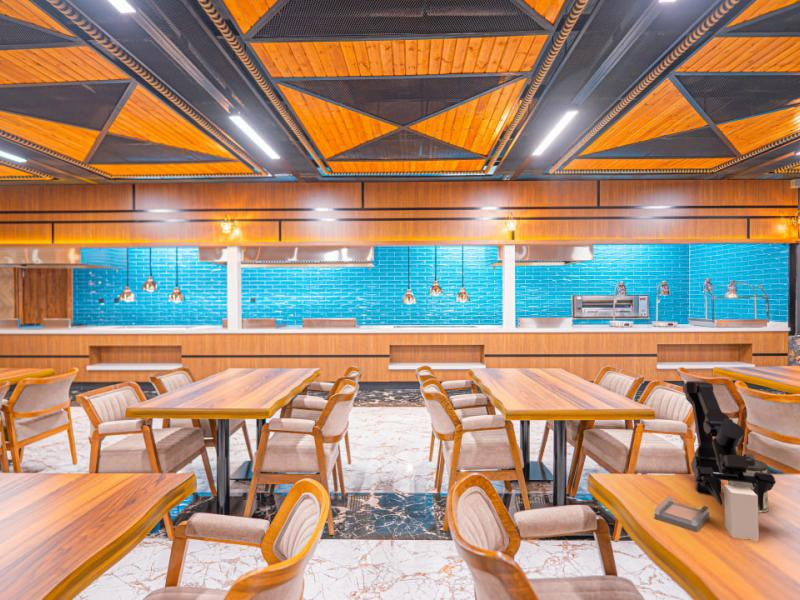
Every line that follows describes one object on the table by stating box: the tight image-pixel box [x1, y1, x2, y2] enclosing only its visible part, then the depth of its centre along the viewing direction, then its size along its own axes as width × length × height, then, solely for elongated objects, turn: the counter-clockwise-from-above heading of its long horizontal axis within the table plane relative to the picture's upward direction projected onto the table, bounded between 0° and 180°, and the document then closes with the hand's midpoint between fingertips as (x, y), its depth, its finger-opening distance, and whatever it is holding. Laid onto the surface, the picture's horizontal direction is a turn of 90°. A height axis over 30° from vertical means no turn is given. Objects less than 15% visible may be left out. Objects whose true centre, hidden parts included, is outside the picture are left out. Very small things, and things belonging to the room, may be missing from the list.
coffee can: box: [727, 458, 769, 514], centre depth 142 cm, size 10×10×14 cm
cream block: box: [723, 484, 760, 542], centre depth 124 cm, size 6×6×12 cm
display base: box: [654, 496, 710, 533], centre depth 134 cm, size 13×11×3 cm
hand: (741, 507), depth 124 cm, fingers open, 9 cm apart
